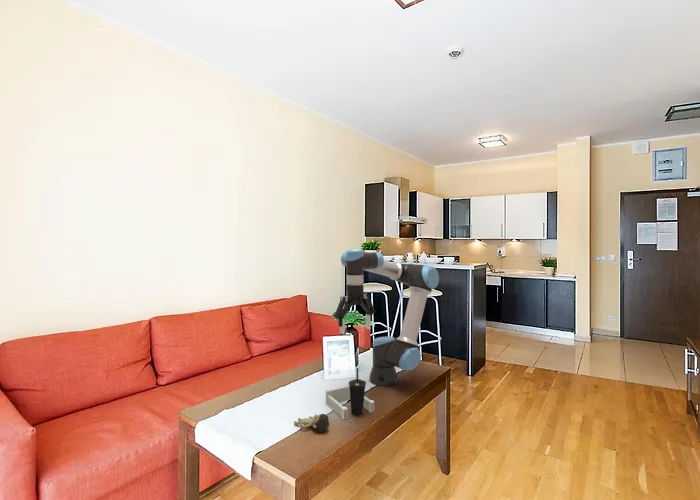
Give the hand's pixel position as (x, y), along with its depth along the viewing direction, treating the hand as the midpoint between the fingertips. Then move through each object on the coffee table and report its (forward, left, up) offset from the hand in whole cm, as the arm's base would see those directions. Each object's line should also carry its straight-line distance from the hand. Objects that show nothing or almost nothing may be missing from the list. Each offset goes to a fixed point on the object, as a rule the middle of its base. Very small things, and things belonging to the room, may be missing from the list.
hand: (355, 331), depth 168 cm
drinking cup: (+2, +5, -35) cm, 35 cm away
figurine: (+24, +7, -35) cm, 43 cm away
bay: (+2, -1, -35) cm, 35 cm away
